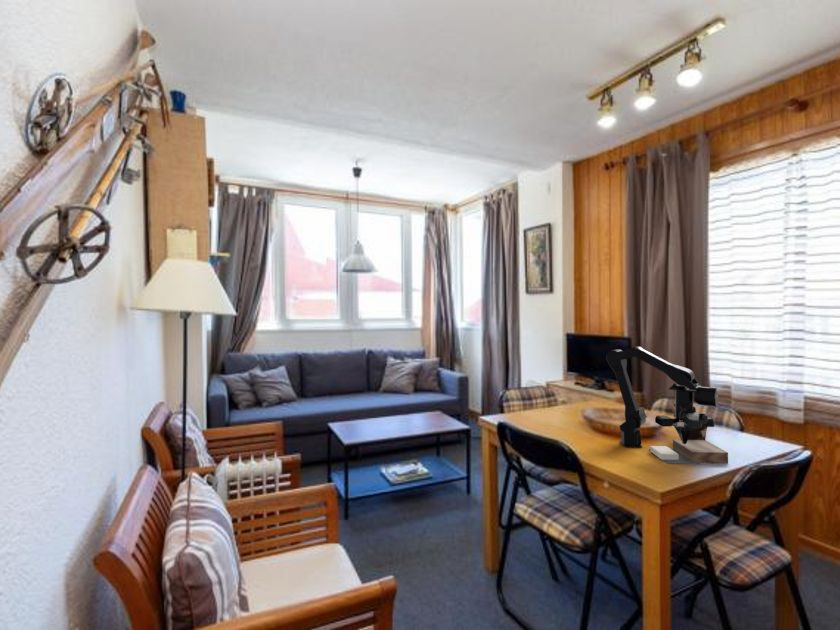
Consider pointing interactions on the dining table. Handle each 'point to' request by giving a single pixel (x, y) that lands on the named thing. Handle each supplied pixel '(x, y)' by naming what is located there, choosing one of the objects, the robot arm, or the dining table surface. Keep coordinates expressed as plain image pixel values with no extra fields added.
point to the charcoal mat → (680, 460)
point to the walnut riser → (701, 451)
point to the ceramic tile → (664, 453)
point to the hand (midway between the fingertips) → (684, 443)
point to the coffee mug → (698, 433)
